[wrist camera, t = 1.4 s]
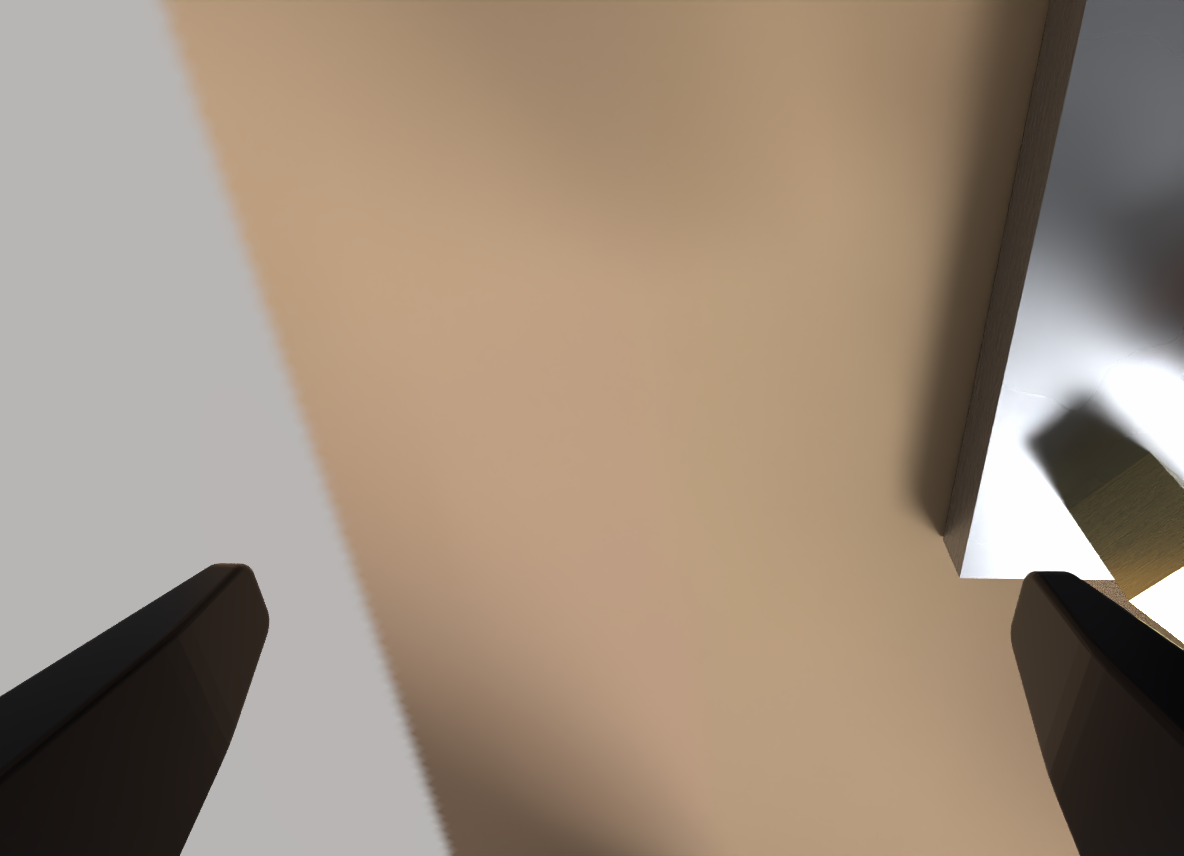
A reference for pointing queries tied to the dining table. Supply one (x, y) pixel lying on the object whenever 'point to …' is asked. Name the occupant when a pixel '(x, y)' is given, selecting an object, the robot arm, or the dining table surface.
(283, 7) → the dining table surface
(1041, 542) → the hub plate
